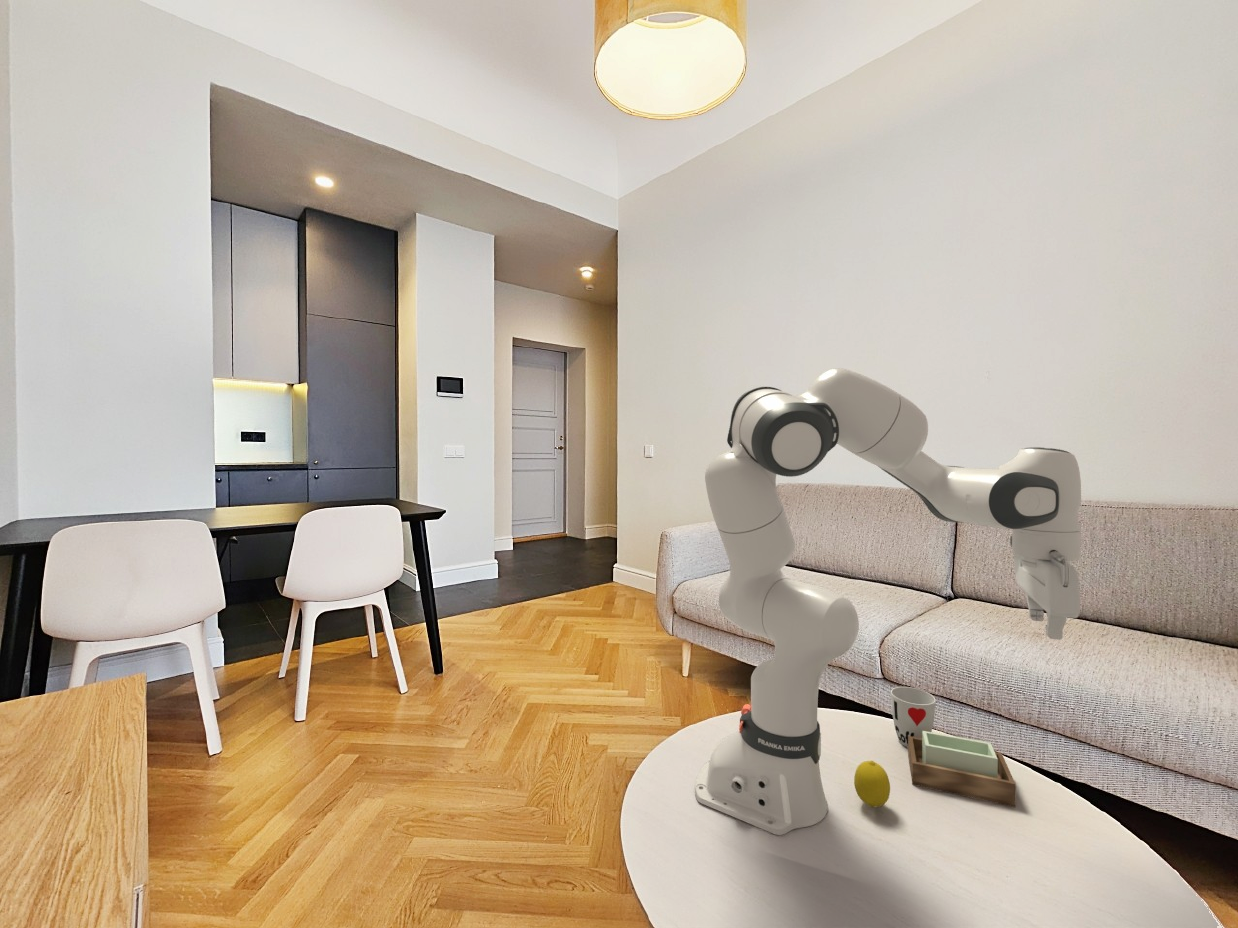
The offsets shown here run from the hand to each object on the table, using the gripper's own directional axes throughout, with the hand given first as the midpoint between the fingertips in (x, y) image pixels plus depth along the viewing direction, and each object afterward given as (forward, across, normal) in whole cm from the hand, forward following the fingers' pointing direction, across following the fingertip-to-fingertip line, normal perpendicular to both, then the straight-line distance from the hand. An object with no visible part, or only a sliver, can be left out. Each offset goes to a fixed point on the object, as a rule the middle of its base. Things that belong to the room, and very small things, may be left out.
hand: (1044, 628), depth 88 cm
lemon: (+31, -10, +26) cm, 42 cm away
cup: (+31, +15, +18) cm, 39 cm away
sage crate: (+30, +4, +12) cm, 33 cm away
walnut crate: (+31, +4, +12) cm, 33 cm away
